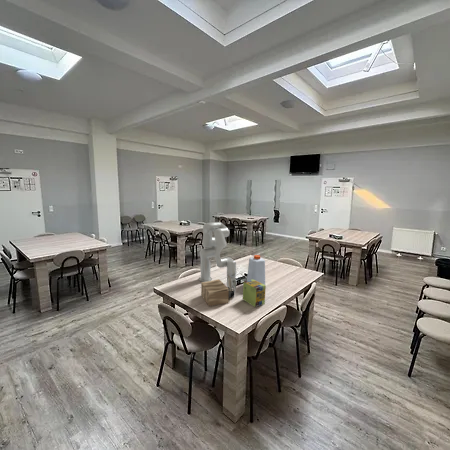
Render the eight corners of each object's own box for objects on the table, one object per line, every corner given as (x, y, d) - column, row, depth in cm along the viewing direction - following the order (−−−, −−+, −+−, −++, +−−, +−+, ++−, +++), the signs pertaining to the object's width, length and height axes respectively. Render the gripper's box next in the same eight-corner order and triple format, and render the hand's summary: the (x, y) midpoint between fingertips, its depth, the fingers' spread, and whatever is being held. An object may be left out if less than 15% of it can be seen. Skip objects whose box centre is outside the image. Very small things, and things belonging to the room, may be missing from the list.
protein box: (255, 307, 183) (256, 288, 180) (242, 299, 195) (243, 281, 192) (265, 303, 189) (266, 285, 186) (251, 296, 201) (252, 278, 198)
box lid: (201, 283, 199) (201, 282, 199) (219, 279, 205) (219, 279, 205) (209, 293, 181) (209, 292, 181) (228, 289, 187) (228, 288, 187)
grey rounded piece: (225, 294, 203) (225, 289, 202) (232, 293, 205) (232, 287, 205) (228, 298, 197) (228, 292, 196) (235, 296, 200) (235, 291, 199)
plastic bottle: (258, 280, 235) (260, 252, 231) (267, 286, 222) (268, 257, 217) (245, 282, 229) (246, 254, 225) (252, 288, 216) (254, 259, 211)
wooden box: (201, 295, 200) (201, 283, 199) (219, 292, 207) (219, 280, 205) (209, 306, 182) (209, 293, 181) (228, 303, 189) (228, 290, 187)
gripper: (239, 277, 192) (239, 298, 195) (231, 270, 208) (230, 290, 210) (231, 279, 189) (230, 300, 192) (223, 271, 205) (222, 291, 208)
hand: (230, 294), depth 201 cm, fingers closed on grey rounded piece, 6 cm apart
